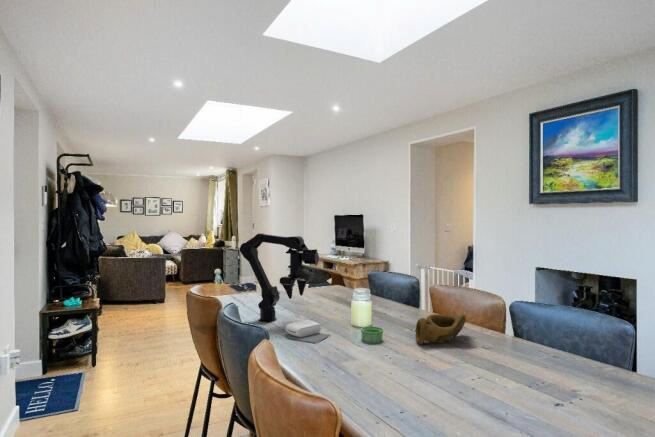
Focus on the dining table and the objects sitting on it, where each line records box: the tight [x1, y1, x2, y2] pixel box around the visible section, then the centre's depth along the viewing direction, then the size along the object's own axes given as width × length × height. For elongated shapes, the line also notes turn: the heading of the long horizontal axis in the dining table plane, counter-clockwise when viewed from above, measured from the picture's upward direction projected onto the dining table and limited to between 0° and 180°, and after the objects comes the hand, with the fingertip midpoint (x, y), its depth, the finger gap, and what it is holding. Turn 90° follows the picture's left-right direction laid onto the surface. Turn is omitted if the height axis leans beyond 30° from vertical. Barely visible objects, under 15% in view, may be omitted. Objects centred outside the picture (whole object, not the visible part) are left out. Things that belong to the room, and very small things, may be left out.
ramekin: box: [360, 325, 384, 344], centre depth 158 cm, size 9×9×4 cm
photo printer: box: [284, 319, 322, 337], centre depth 165 cm, size 10×4×12 cm
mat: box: [285, 332, 331, 344], centre depth 161 cm, size 14×12×1 cm
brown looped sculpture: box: [415, 313, 467, 345], centre depth 157 cm, size 18×13×22 cm
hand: (295, 297), depth 184 cm, fingers open, 9 cm apart
